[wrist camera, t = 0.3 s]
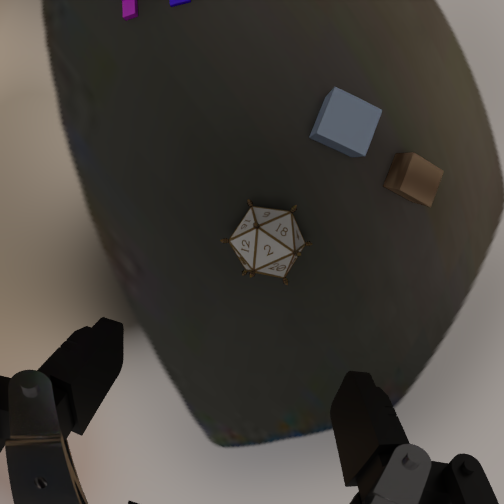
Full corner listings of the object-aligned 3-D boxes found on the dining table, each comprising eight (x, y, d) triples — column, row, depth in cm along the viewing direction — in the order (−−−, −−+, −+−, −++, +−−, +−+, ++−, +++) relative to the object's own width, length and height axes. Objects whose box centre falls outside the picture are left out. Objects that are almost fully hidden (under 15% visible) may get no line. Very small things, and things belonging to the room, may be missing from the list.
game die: (281, 223, 40) (342, 241, 32) (245, 279, 39) (301, 311, 31) (236, 179, 34) (299, 188, 26) (193, 243, 33) (246, 272, 25)
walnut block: (395, 153, 33) (413, 152, 28) (423, 169, 34) (443, 171, 29) (382, 186, 34) (399, 189, 30) (411, 201, 35) (430, 207, 30)
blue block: (325, 97, 32) (335, 86, 27) (367, 117, 32) (382, 110, 28) (308, 138, 33) (316, 133, 29) (351, 157, 34) (365, 156, 29)
